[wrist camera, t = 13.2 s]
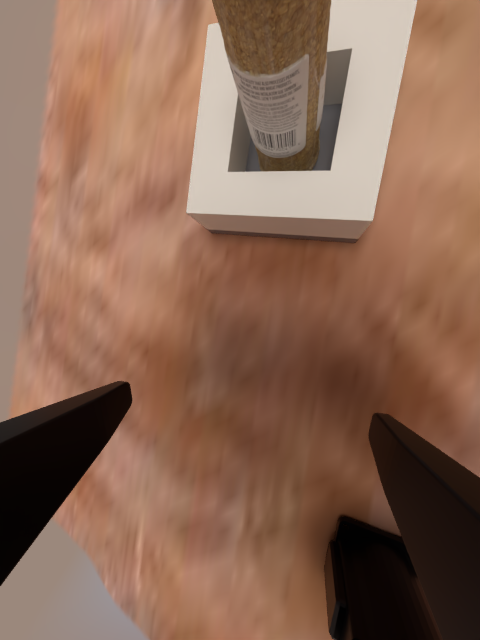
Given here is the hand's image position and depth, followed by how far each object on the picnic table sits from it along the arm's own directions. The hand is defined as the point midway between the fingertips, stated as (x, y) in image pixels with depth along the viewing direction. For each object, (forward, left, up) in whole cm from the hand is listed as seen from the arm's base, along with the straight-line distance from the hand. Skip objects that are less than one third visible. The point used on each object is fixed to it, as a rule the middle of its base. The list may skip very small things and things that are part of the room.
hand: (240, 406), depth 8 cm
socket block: (+2, -15, -11) cm, 19 cm away
